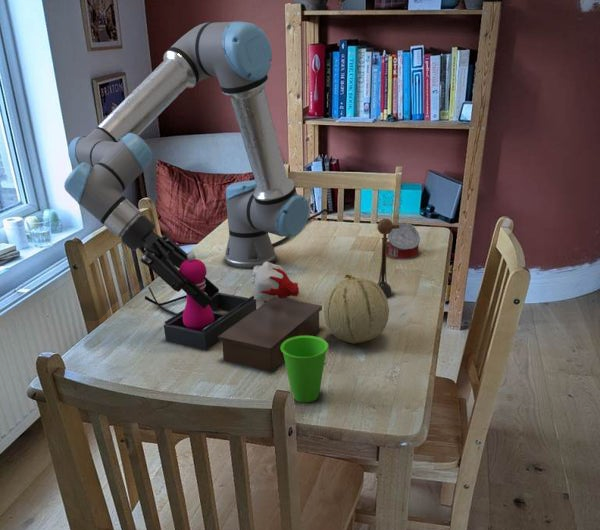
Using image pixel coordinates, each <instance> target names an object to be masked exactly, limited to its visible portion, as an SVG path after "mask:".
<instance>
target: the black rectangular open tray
mask: <svg viewBox="0 0 600 530" xmlns="http://www.w3.org/2000/svg"><path fill="white" fill-rule="evenodd" d="M211 299H212V301H211V303H210V304H209V306H210V307H211V309H212V311H213V315H214V322H213V323H212V324H210V325H209V326H207V327H206V328H204V329H203V330H202V331H203V332H202V331H197V330H193V329H188V328H187V327H186V326H185V325H184V323H183V312H184V309H182V310H181V311H180V312H178V313H177V314H176V315H173V316H171V317H170V318H168V319H166V320H165V321H164V324H163V331H164V338H165V342H169V343H173V344H177V345H182V346H185V347H191V348H195V349H199V350H203V351H208V350H209V349H211V348H213V346H214V345H216V344H218V343H220V341H219V340H218V336H219V335H221V334H222V333H224V332H225V331H226V330H228V329H229V328H231V327H232V326H233V325H235V324H236V323H238V322H239V321H240V320H242V319H243V318H245V317H246V316H247V315H249V314H250V313H252V312H253V311H255V310H256V309H257V299H256V298H255V296H254V295H252V296H250V297H245V296H241V295H235V294H231V293H223V292H220V290H219V291H218V292H217V293H216V294H215V295H214V296H213V297H212V298H211ZM219 310H224V311H225V310H226V311H228V312H226V313H223V312H219Z"/></svg>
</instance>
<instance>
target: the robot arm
mask: <svg viewBox="0 0 600 530" xmlns="http://www.w3.org/2000/svg"><path fill="white" fill-rule="evenodd" d="M272 60H273V51H272V46H271V43H270V40H269V38H268V36H267V34H266V33H265V32H264V30H263V29H261V27H259V26H257V25H256V24H254V23H252V22H245V21H241V20H235V21H220V22H219V21H218V22H216V21H215V22H214V21H211V22H210V21H209V22H204V23H200V24H198V25H196V26H195V27H193V28H192V29H190V30H189V31H187V33H185V34H184V35H182V36H181V37H180V38H179V39H178V40H177V41H176V42H174V44H172V45H171V46H170V47H169V48H168V49H167V50H166V51H165V52H164V54H163V61H161V62H160V64H158V66H157V67H156V68H154V70H153V71H152V72H151V73H150V74H149V75H147V77H146V78H145V79H143V81H142V82H141V83H139V85H138V86H137V87H135V88H134V90H132V92H130V93H129V94H128V95H127V96H126V97H125V98H124V99H123V101H121V103H119V105H117V106H116V107H115V108H114V109H113V110H112V112H110V113H109V114H108V115H107V116H106V117H105V118H104V119H103V120H102V121H101V122H100V123H99V124H98V125H97V126H96V127H95V128H94V129H93V130H91V132H90V133H89V134H88V135H81V136H77V137H75V138H73V139H72V140H71V141H70V143H69V145H68V158H69V160H70V162H71V164H72V165H73V166H74V167H75V168H74V169H72V170H71V172H70V173H69V174H68V176H67V178H66V179H65V181H64V184H63V187H64V190H65V191H66V192H67V194H68V195H69V196H70V197H71V198H72V199H73V200H74V201H76V203H77V204H78V205H80V207H82V208H83V209H84V210H86V212H88V213H89V214H90V215H91V216H92V217H94V218H95V219H96V220H97V221H99V222H100V223H101V224H102V225H103V226H104V227H105V228H107V230H108V232H111V233H112V234H113V235H115V237H117V238H120V237H121V239H120V240H121V242H122V243H123V244H124V245H125V246H126V247H127V248H129V249H130V250H131V251H136V250H137V249H138V250H139V251H140V252H141V254H142V256H141V258H140V259H139V261H140V262H141V263H142V264H144V265H145V266H147V267H148V268H150V270H152V271H153V272H154V273H155V274H156V275H157V276H158V277H159V278H160V279H161V280H162V281H164V283H166V284H167V285H168V286H169V287H170V288H171V289H172V290H174V291H176V292H177V293H179V292H180V291H181V290H182V291H183V292H184V293H185V294H186V293H187V294H188V295H189V296H190V297H191V298H192V299H193V300H195V301H196V302H197V303H198V304H199V305H200V306H201V307H202V308H204V309H205V308H206V307H207V306H208V305H209V304H210V303H211V301H212V299H211V298H212V297H213V296H214V295H215V294H216V293H217V292H218V291H219V292H220V289H219V288H218V286H216V285H215V284H214V283H213V282H212V281H211V280H210V279H209V278H208V277H206V276H205V278H204V280H205V284H206V287H205V288H204V292H203V291H202V290H201V289H200V288H199V287H197V286H196V285H195V284H194V283H193V282H192V281H191V280H190V281H189V282H188V281H187V279H186V278H185V277H184V276H183V275H182V274H181V272H180V271H179V269H180V265H181V264H182V263H183V262H184V261H186V260H188V258H187V255H188V254H189V253H187V252H186V251H185V250H183V248H181V247H180V246H179V245H178V244H177V243H176V242H174V241H173V239H172V238H171V237H170V236H169V235H168V234H167V233H164V234H163V236H161V235H159V234H158V233H156V232H154V231H155V229H156V224H155V223H154V222H153V221H152V220H151V219H149V218H148V217H147V216H146V215H145V214H141V210H140V209H138V208H137V207H136V205H134V204H133V203H132V202H131V201H129V200H128V199H127V198H126V197H125V196H124V195H123V194H122V193H124V191H125V190H126V189H127V188H128V187H129V186H130V185H131V184H132V183H133V182H134V181H136V179H137V178H138V177H139V176H140V175H141V174H142V173H143V172H145V170H146V169H147V167H148V166H149V165H150V164H151V162H152V161H153V152H152V150H151V148H150V147H149V145H148V143H146V141H145V140H144V139H143V138H142V137H140V135H141V134H142V133H143V132H144V131H145V130H146V129H147V128H148V127H149V126H150V125H151V124H152V123H153V122H154V121H155V120H156V119H157V118H158V117H159V116H160V115H161V114H162V113H163V112H164V111H165V110H166V108H168V107H169V106H170V105H171V103H173V101H175V100H176V99H177V98H178V97H179V96H180V94H181V93H182V92H184V91H185V89H193V88H194V87H195V86H196V85H197V84H198V83H199V82H201V81H202V80H203V81H204V80H205V79H208V78H215V79H216V78H217V80H218V83H219V86H220V89H221V92H222V94H223V95H225V96H227V97H228V98H230V101H231V104H232V108H233V111H234V114H235V118H236V121H237V125H238V127H239V132H240V135H241V138H242V142H243V144H244V145H243V146H244V148H245V152H246V155H247V158H248V162H249V165H250V168H251V172H252V176H253V178H254V179H251V180H244V181H243V180H242V181H237V182H234V183H231V184H229V185H227V186H226V188H225V204H226V205H225V206H226V214H227V215H226V217H227V226H228V240H227V244H226V249H225V253H224V260H225V264H226V265H228V266H231V267H234V268H238V269H254V268H253V267H255V266H262V265H263V264H264V263H265V262H270V263H272V264H273V263H274V262H275V261H276V252H275V251H276V250H275V248H274V247H275V246H278V245H281V244H282V243H284V242H286V241H287V240H289V239H290V238H294V237H296V236H298V235H299V234H300V233H301V232H302V231H303V230H304V228H305V227H306V225H307V223H308V222H310V221H311V220H313V219H314V218H317V217H318V216H320V215H322V214H323V213H324V212H325V213H326V214H327V213H329V212H330V211H329V210H328V209H327V208H323V209H322V210H320V211H319V212H317V213H316V214H313V215H311V216H310V204H309V201H308V199H307V198H306V197H305V196H304V195H302V194H298V192H297V188H296V184H295V181H294V180H293V179H291V178H290V177H288V174H287V172H286V166H285V163H284V160H283V156H282V152H281V149H280V144H279V140H278V137H277V132H276V127H275V124H274V121H273V117H272V113H271V109H270V105H269V101H268V98H267V93H266V90H265V86H266V85H267V82H268V81H269V76H268V73H270V70H271V68H272V67H271V66H272V64H271V62H272ZM270 234H271V235H276V236H278V237H281V238H282V237H283V238H282V239H280V240H277V241H276V242H273V243H272V241H271V237H270ZM187 294H186V295H187Z"/></svg>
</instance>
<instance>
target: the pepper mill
mask: <svg viewBox="0 0 600 530" xmlns="http://www.w3.org/2000/svg"><path fill="white" fill-rule="evenodd" d="M187 254H188V255H187V258H188V260H186V261H184V262H183V263H182V264H181V265H180V269H179V268H178V270H179V271H180V272H181V274H182V275H183V276H184V277H185V278H186V279H187V281H188V282H189V281H190V280H191V281H192V282H193V283H194V284H195V285H196V286H197V287H199V288H200V289H201V290H202V291H203V292H204V288H205V287H206V284H205V280H204V278H205V277H206V276H207V273H208V271H207V267H206V264H205V263H204V262H203V261H202V260H200V259H197V258H196V254H195V253H194V252H189V253H187ZM204 293H205V292H204ZM185 295H187V298H186V303H185V306H184V309H183V310H184V312H183V323H184V325H185V326H186V327H187V328H188V329H193V330H197V331H202V330H203V329H204V328H206V327H207V326H209V325H210V324H212V323H213V322H214V315H213V311H212V309H211V307H210V306H209V305H208V306H207V307H206V308H205V309H204V308H202V307H201V306H200V305H199V304H198V303H197V302H196V301H195V300H193V299H192V298H191V297H190V296H189V295H188V294H187V293H186V292H185ZM202 332H203V331H202Z"/></svg>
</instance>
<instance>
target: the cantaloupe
mask: <svg viewBox="0 0 600 530" xmlns="http://www.w3.org/2000/svg"><path fill="white" fill-rule="evenodd" d="M344 278H346V279H344V280H341V281H338V282H337V283H336V284H334V285H333V286H332V287H331V288H330V289H329V291H328V292H327V295H326V296H325V300H324V303H323V317H324V321H325V324H326V326H327V327H328V330H329V331H330V332H331V334H332V335H333V336H335V337H336V338H337V339H339V340H341V341H343V342H345V343H349V344H355V345H356V344H362V343H364V342H368V341H371V340H373V339H375V338H376V337H378V336H379V335H380V334H382V333H383V331H384V330H385V328H386V326H387V324H388V321H389V316H390V306H389V302H388V299H387V298H388V297H387V298H386V296H385V294H384V292H383V291H382V289H381V288H380V287H379V286H378V285H377V284H378V283H376V282H375V281H374V280H372V279H370V278H365V277H355V276H353V274H348V273H347V274H345V276H344Z"/></svg>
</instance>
